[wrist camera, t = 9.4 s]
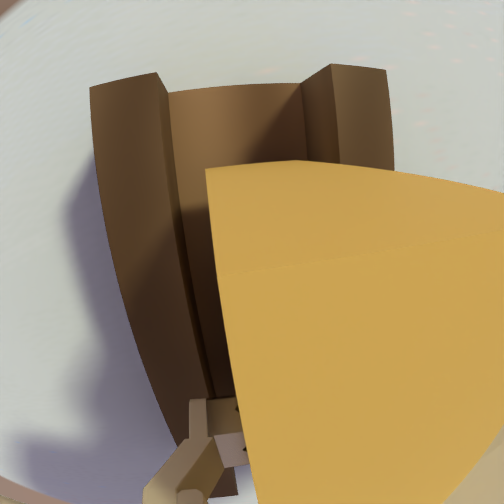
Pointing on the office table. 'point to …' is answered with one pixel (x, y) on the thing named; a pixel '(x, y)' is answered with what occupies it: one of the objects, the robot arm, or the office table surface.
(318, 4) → the office table surface
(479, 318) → the door panel
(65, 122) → the office table surface
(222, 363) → the sliding track
